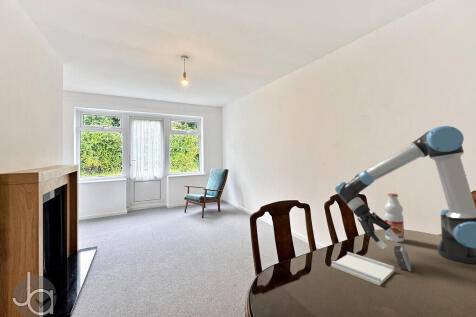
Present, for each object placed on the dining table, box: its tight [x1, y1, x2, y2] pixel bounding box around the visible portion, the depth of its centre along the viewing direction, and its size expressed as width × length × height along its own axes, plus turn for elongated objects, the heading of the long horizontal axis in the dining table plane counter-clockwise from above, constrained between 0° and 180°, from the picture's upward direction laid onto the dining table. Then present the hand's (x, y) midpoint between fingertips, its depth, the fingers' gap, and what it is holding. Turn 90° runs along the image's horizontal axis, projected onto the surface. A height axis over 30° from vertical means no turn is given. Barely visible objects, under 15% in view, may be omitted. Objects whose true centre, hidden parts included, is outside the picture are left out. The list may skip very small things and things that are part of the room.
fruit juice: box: [384, 192, 405, 243], centre depth 131 cm, size 9×9×28 cm
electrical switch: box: [393, 243, 412, 272], centre depth 98 cm, size 9×5×9 cm, turn 141°
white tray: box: [330, 251, 396, 286], centre depth 97 cm, size 20×17×2 cm
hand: (391, 244), depth 101 cm, fingers open, 13 cm apart
